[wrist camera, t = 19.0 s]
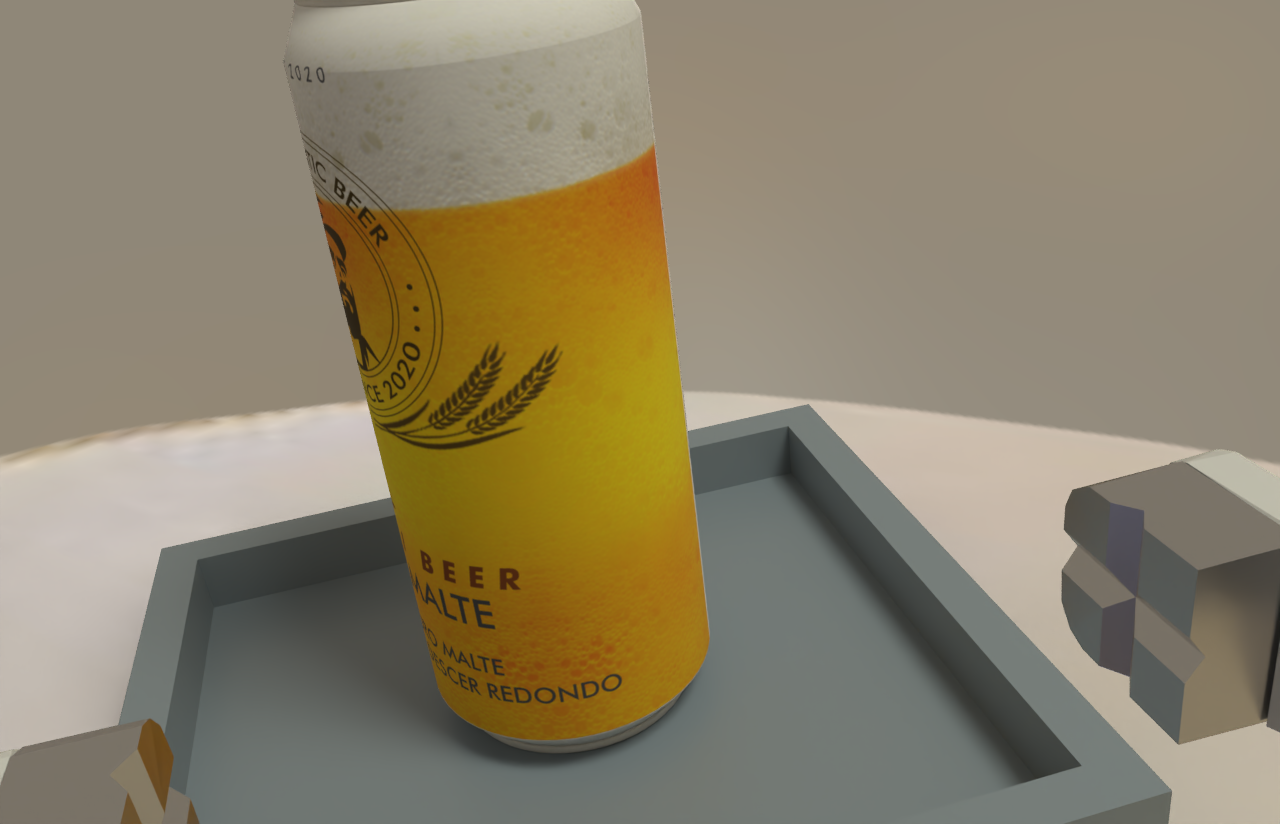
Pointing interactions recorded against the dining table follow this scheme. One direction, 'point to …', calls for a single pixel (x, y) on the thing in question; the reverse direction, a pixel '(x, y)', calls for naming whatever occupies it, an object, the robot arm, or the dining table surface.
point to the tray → (690, 730)
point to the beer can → (515, 346)
